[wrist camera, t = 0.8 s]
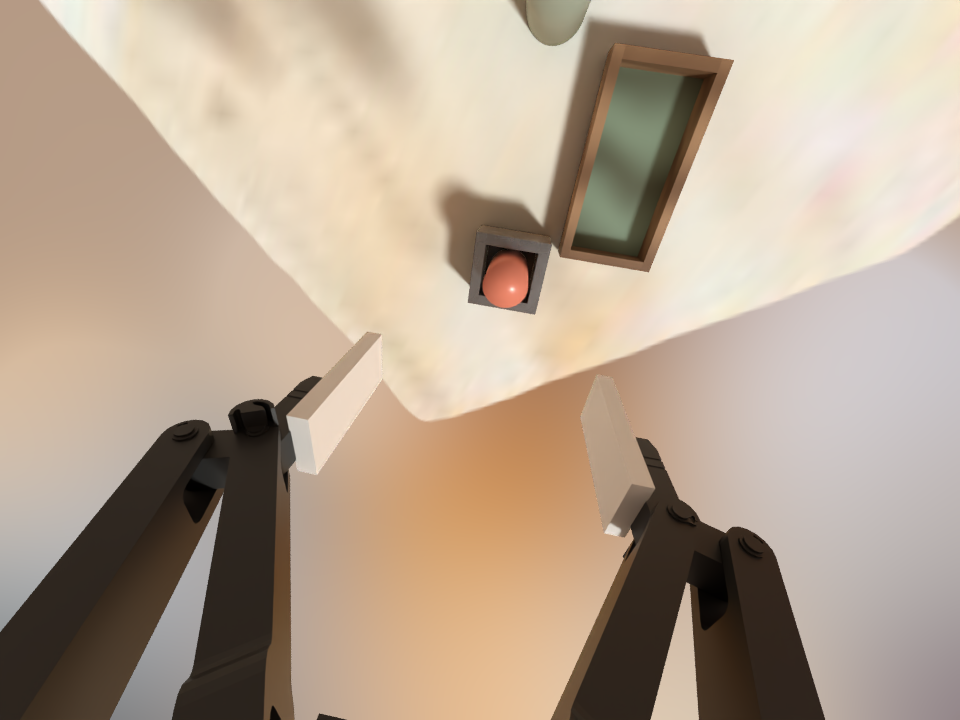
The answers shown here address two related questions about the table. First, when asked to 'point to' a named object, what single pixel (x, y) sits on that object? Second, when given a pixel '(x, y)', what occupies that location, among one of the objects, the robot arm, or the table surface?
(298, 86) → the table surface
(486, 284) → the coral capsule
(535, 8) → the cell
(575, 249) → the wooden tray
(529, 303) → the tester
